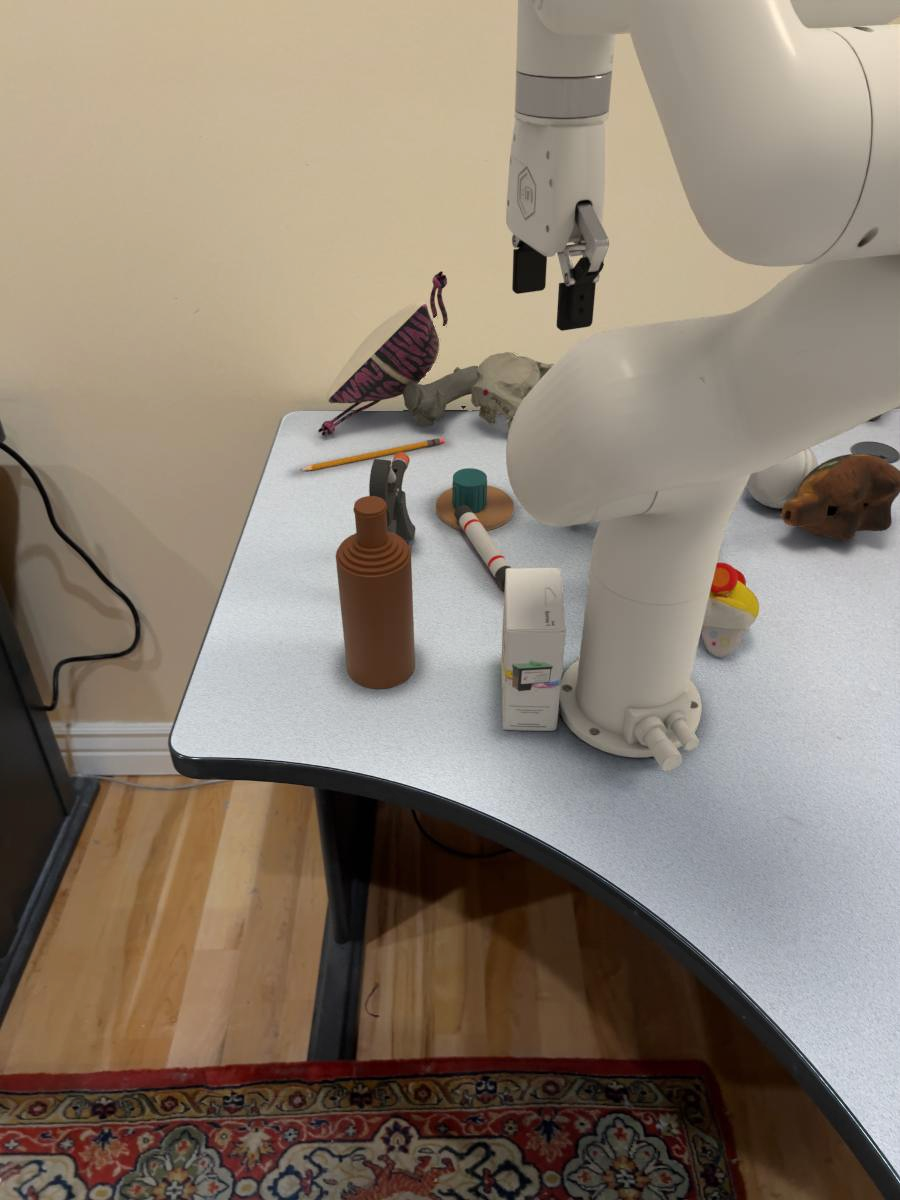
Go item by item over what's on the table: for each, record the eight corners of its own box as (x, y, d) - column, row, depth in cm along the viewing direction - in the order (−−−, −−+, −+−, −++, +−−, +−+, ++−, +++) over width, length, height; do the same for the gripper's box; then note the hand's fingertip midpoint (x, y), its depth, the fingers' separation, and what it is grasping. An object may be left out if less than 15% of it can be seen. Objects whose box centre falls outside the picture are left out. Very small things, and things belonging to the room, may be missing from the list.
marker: (454, 521, 104) (453, 506, 103) (470, 517, 105) (470, 502, 103) (510, 607, 94) (511, 592, 92) (528, 601, 94) (529, 587, 93)
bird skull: (578, 448, 117) (578, 373, 111) (467, 444, 120) (462, 372, 114) (595, 367, 136) (596, 300, 130) (499, 366, 139) (496, 300, 133)
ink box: (499, 663, 87) (504, 563, 80) (552, 664, 87) (561, 564, 80) (500, 731, 81) (505, 629, 73) (557, 732, 80) (568, 630, 73)
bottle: (424, 679, 86) (419, 517, 74) (357, 696, 84) (342, 533, 72) (403, 635, 90) (395, 477, 79) (339, 651, 89) (322, 491, 77)
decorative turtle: (947, 467, 96) (898, 430, 102) (819, 488, 92) (775, 449, 98) (917, 543, 102) (872, 505, 108) (795, 566, 99) (756, 525, 105)
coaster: (525, 522, 105) (525, 518, 105) (450, 538, 103) (450, 533, 102) (496, 482, 112) (496, 478, 111) (425, 496, 109) (425, 491, 109)
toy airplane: (746, 666, 93) (612, 609, 99) (782, 585, 92) (644, 533, 98) (722, 662, 81) (572, 597, 87) (763, 569, 80) (609, 510, 87)
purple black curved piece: (469, 306, 109) (504, 323, 127) (425, 253, 110) (466, 277, 128) (326, 447, 117) (378, 444, 135) (285, 397, 118) (342, 401, 136)
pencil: (444, 440, 118) (444, 444, 119) (443, 436, 118) (442, 439, 119) (299, 470, 113) (299, 474, 114) (298, 465, 113) (298, 469, 114)
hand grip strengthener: (417, 537, 103) (414, 415, 93) (391, 608, 93) (384, 481, 84) (397, 535, 103) (392, 413, 94) (369, 605, 94) (360, 479, 84)
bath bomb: (718, 483, 108) (765, 503, 112) (762, 506, 101) (810, 526, 105) (752, 419, 106) (798, 442, 110) (799, 438, 99) (846, 462, 103)
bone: (398, 380, 118) (395, 424, 122) (434, 398, 115) (430, 442, 118) (508, 345, 132) (503, 386, 136) (544, 360, 129) (537, 401, 132)
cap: (460, 492, 109) (461, 465, 107) (491, 499, 108) (492, 472, 105) (447, 509, 106) (446, 481, 104) (478, 517, 105) (478, 489, 103)
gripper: (478, 83, 79) (477, 283, 90) (566, 121, 66) (553, 350, 77) (558, 77, 81) (548, 274, 92) (659, 112, 68) (633, 337, 79)
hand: (550, 308), depth 84 cm, fingers open, 9 cm apart
